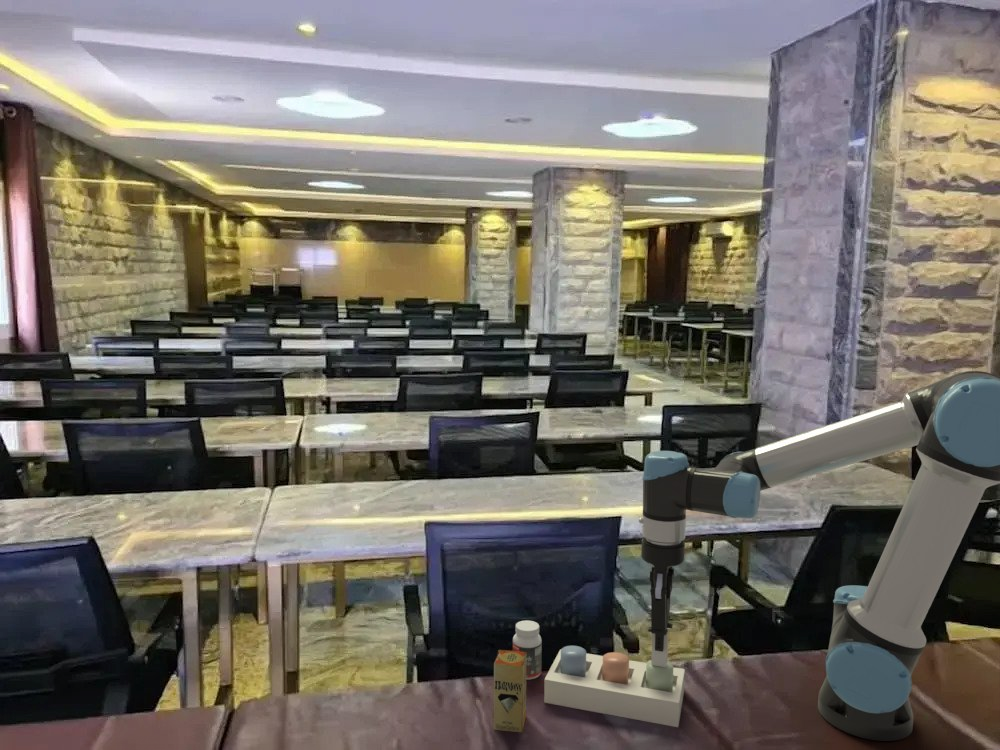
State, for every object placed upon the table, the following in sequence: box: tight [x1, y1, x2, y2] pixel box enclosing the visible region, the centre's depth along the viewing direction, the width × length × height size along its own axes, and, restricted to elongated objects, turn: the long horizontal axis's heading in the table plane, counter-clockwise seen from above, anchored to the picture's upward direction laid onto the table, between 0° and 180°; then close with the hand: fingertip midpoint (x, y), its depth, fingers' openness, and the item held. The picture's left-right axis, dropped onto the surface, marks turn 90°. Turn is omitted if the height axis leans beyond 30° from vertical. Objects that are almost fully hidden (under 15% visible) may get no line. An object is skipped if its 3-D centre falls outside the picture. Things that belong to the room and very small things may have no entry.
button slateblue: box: [560, 645, 587, 677], centre depth 139 cm, size 5×5×4 cm
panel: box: [543, 648, 686, 728], centre depth 136 cm, size 24×12×4 cm, turn 71°
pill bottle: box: [512, 620, 543, 681], centre depth 145 cm, size 6×6×10 cm
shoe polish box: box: [493, 649, 527, 733], centre depth 128 cm, size 5×5×12 cm
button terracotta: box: [602, 651, 630, 684], centre depth 136 cm, size 5×5×4 cm
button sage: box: [645, 659, 674, 692], centre depth 133 cm, size 5×5×4 cm
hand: (659, 664), depth 133 cm, fingers closed
